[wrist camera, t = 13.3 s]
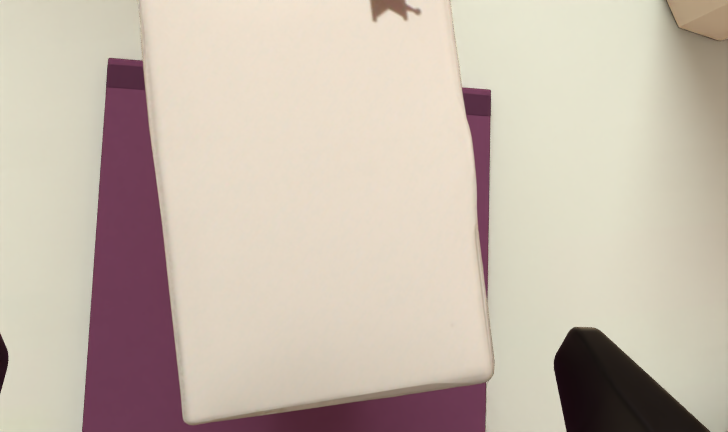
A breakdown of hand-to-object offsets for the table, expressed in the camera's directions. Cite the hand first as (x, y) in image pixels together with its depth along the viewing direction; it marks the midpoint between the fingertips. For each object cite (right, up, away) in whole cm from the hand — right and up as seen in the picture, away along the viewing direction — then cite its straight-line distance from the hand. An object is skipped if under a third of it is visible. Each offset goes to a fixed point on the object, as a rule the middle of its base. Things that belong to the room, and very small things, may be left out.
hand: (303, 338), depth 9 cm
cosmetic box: (-1, +2, +10) cm, 10 cm away
